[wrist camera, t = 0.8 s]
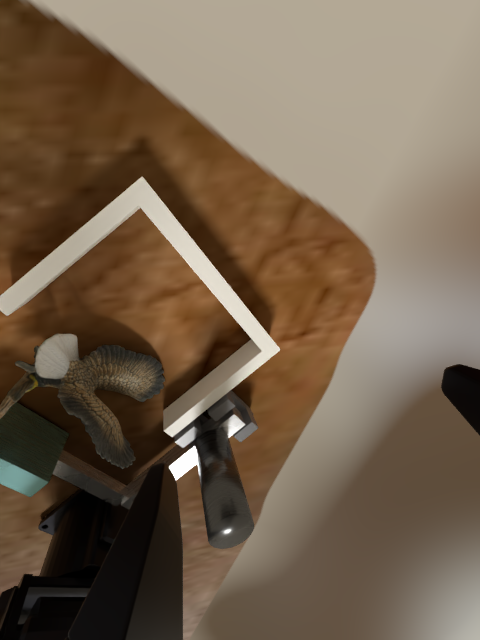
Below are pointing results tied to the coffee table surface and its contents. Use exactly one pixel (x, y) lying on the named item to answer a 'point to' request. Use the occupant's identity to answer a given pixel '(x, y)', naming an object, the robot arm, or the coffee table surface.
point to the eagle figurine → (91, 387)
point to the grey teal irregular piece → (206, 451)
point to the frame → (164, 220)
